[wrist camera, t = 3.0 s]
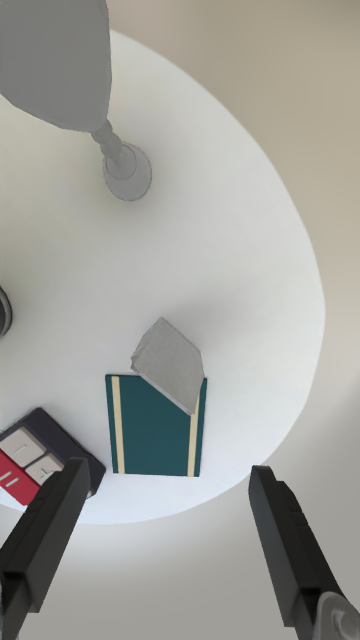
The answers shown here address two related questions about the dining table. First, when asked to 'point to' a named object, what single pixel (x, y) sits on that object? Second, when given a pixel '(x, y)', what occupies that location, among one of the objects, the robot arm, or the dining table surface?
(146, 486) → the dining table surface
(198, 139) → the dining table surface
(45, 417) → the calculator
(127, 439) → the cloth
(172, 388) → the white gable top carton
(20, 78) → the chalice
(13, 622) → the robot arm
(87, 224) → the dining table surface
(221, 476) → the dining table surface
